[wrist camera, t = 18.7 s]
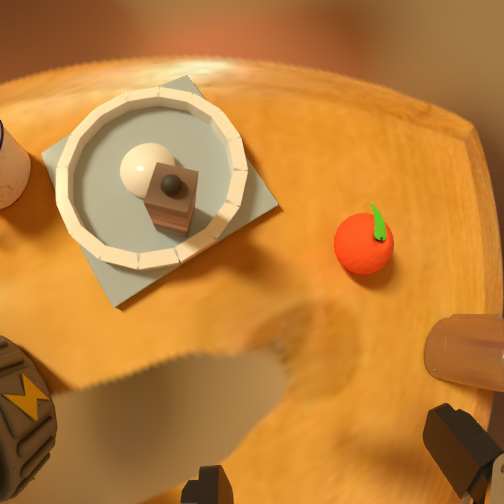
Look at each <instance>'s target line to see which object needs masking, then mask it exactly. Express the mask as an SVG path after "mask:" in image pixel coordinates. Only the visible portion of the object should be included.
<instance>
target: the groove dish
mask: <svg viewBox="0 0 504 504" xmlns="http://www.w3.org/2000/svg"><path fill="white" fill-rule="evenodd" d="M95 109H96V110H93V111H92V112H91V113H90V114H89V115H88V116H87V117H86V118H85V119H84V120H83V121H82V122H81V123H80V124H79V126H78V127H77V128H76V129H75V130H74V131H73V132H72V133H71V134H70V135H68V136H67V137H65V138H64V139H62V140H60V141H59V142H57V143H56V144H54V145H53V146H51V147H50V148H49V149H47V150H46V151H44V152H43V153H41V154H42V157H43V160H44V162H45V165H46V168H47V171H48V173H49V176H50V179H51V181H52V184H53V186H54V189H55V191H56V202H57V203H56V204H57V207H58V209H59V211H60V214H61V216H62V218H63V221H64V223H65V225H66V227H67V229H68V232H69V234H70V235H71V236H72V237H73V238H74V239H75V240H76V241H77V242H78V243H79V245H80V247H81V249H82V251H83V253H84V255H85V257H86V259H87V261H88V263H89V265H90V267H91V268H92V270H93V272H94V274H95V276H96V278H97V280H98V281H99V283H100V285H101V287H102V289H103V290H104V292H105V294H106V296H107V297H108V299H109V301H110V302H111V304H112V306H113V308H115V307H117V306H119V305H120V304H122V303H123V302H125V301H126V300H128V299H129V298H131V297H132V296H134V295H136V294H137V293H139V292H140V291H142V290H143V289H145V288H146V287H148V286H150V285H151V284H153V283H154V282H156V281H157V280H159V279H160V278H162V277H164V276H165V275H167V274H168V273H170V272H171V271H173V270H175V269H176V268H178V267H179V266H181V265H182V264H184V263H186V262H187V261H189V260H190V259H192V258H194V257H195V256H197V255H198V254H200V253H202V252H203V251H205V250H206V249H208V248H210V247H211V246H213V245H214V244H216V243H218V242H219V241H221V240H223V239H224V238H226V237H227V236H229V235H231V234H232V233H234V232H236V231H237V230H239V229H240V228H242V227H244V226H245V225H247V224H249V223H250V222H252V221H254V220H255V219H257V218H259V217H260V216H262V215H263V214H265V213H267V212H268V211H270V210H272V209H273V208H275V207H277V206H278V205H279V204H278V203H277V201H276V200H275V198H274V197H273V195H272V194H271V192H270V191H269V189H268V188H267V186H266V185H265V183H264V182H263V180H262V179H261V177H260V176H259V174H258V173H257V171H256V170H255V169H254V167H253V166H252V164H251V163H250V161H249V160H248V158H247V157H246V156H245V153H244V148H243V143H242V139H241V138H240V137H241V136H240V135H239V133H238V132H237V130H236V129H235V128H234V126H233V125H232V123H231V122H230V121H229V119H228V118H227V117H226V115H225V114H224V113H223V111H221V109H219V108H218V107H216V106H214V105H213V104H211V103H209V102H208V101H206V100H205V98H204V97H203V96H202V94H201V93H200V92H199V90H198V89H197V88H196V86H195V85H194V84H193V82H192V81H191V80H190V78H189V77H188V76H187V75H186V76H183V77H181V78H178V79H176V80H174V81H171V82H169V83H167V84H164V85H162V86H160V87H155V88H148V89H142V90H136V91H130V92H126V93H123V94H121V95H119V96H117V97H115V98H113V99H112V100H110V101H108V102H106V103H104V104H102V105H100V106H99V107H97V108H95ZM157 162H159V163H163V164H168V165H173V166H177V167H181V168H186V169H190V170H194V171H199V173H198V183H197V193H196V203H195V210H194V213H193V217H192V221H191V225H190V229H189V233H188V237H187V238H186V237H182V236H178V235H174V234H169V233H165V232H161V231H157V230H156V229H155V227H154V225H153V223H152V220H151V218H150V216H149V214H148V211H147V209H146V207H145V205H144V200H145V196H146V193H147V190H148V187H149V184H150V181H151V178H152V175H153V172H154V169H155V166H156V163H157Z"/></svg>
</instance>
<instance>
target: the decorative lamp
mask: <svg viewBox="0 0 504 504" xmlns="http://www.w3.org/2000/svg"><path fill="white" fill-rule="evenodd" d="M56 431H57V421H56V413H55V406H54V404H53V401H52V398H51V396H50V393H49V390H48V387H47V385H46V383H45V381H44V380H43V378H42V376H41V375H40V373H39V371H38V370H37V368H36V366H35V365H34V363H33V362H32V361H31V360H30V359H29V358H28V357H27V356H26V355H25V353H24V352H23V351H22V350H21V349H20V348H19V347H18V346H16V345H15V344H13V343H12V342H11V341H9V340H8V339H6V338H5V337H3V336H0V502H3V501H7V500H9V499H12V498H13V499H14V498H15V497H16V496H17V495H18V494H19V493H20V492H21V491H22V490H23V489H24V488H25V487H26V486H27V484H28V483H29V482H30V481H32V480H34V479H35V478H34V476H35V475H36V474H37V472H38V471H39V470H40V469H41V467H42V466H43V465H44V464H45V463H46V461H47V460H48V459H49V458H50V453H49V451H50V450H51V449H52V448H53V446H54V445H55V437H56Z"/></svg>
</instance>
